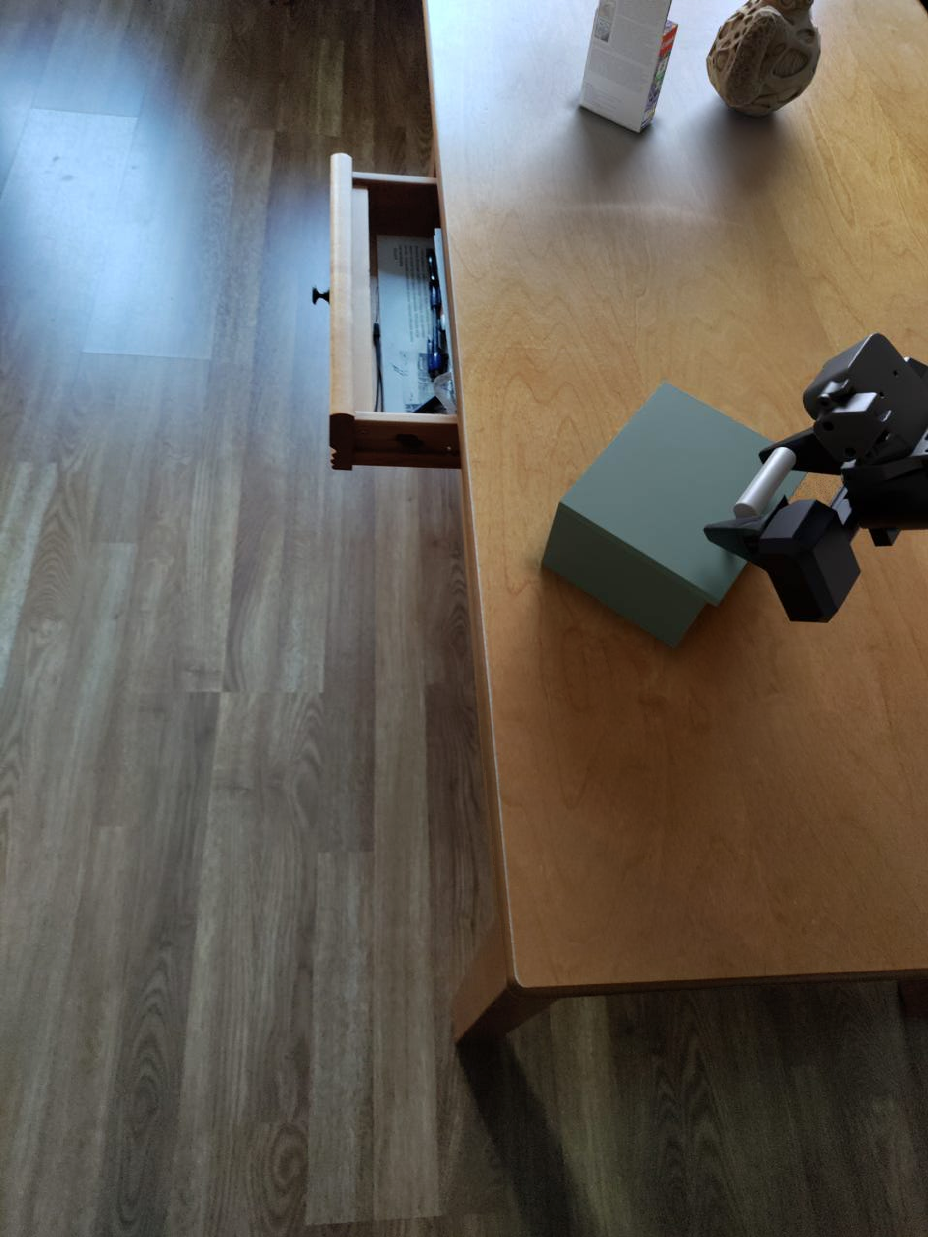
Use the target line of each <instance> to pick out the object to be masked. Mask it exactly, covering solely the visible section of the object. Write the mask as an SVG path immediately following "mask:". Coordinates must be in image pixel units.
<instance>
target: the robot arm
mask: <svg viewBox="0 0 928 1237" xmlns="http://www.w3.org/2000/svg"><path fill="white" fill-rule="evenodd" d="M802 404H803V408H804V410H805V411H806V413H807V415H808V416H809V417H810V418H811V420H813V421H814V423H813V426H810V427H808V428H806V429H803V430H801V431H799V432H797V433H794V434H793V435H791V436H789V437H786V438H784V439H782V440H780V441H778V442H775V444H773V445H771V446H769V447H766V448H764V449H762V450H761V451H760V452H759V454H758V456H759V458H760V460H761V463H762V464H763V465H764V464H765V462H766V461H767V460H768V458H769V457H770V456H771V454H772V453H773V451H774V450H775V449H777V448H780V447H784V448H788V449H790V450H791V451H792V452H793V453H794V454H795V456H796V463H795V464H794V466H793V467H792V469H791V470H792V471H801V472H808V473H809V474H810V473H812V474H821V475H829V476H840V480H841V483H842V484H841V485H840V487H839V488H838V489H837V491H836V493H835V494H834V495H833V497H832V499H831V500H830V502H829V504H828V505H827V504H825V503H824V502H823V501H820V500H819V499H816V498H809V499H808V498H807V499H797V500H796V501H793V502H791V503H789V501H788V500H787V498H786V495H785V494H784V495H782V496H781V497H780V499H779V500H778V502H777V503H776V505H775V506H774V507H773V509H772V510H771V512H770V513H769V514H767V515H760V516H754V517H747V518H740V519H733V520H726V521H721V522H717V523H712V524H708V525H706V526H705V527H704V529H703V531H704V533H705V535H706V537H707V539H708V541H710V542H711V543H713V544H715V545H717V546H719V547H721V548H723V549H725V550H727V551H729V552H731V553H733V554H735V555H737V556H738V557H740V558H742V559H744V560H746V561H748V562H747V563H750V564H752V565H754V566H756V567H757V568H758V569H759V568H760V569H761V570H763V571H764V572H766V573H767V575H768V577H769V579H770V582H771V583H772V586H773V588H774V590H775V593H776V595H777V596H778V599H779V601H780V603H781V605H782V608H783V609H784V612H785V615H786V616H787V618H788V620H789V622H798V623H817V624H818V623H819V624H829V622H830V621H831V620H832V619H833V618H834V617H835V616H836V615H837V613H838V612H839V611H840V609H841V607H842V606H843V604H844V602H845V600H846V599H847V597H848V595H849V594H850V592H851V591H852V589H853V587H854V586H855V584H856V582H857V580H858V578H859V577H860V575H861V573H862V570H861V568H860V565H859V562H858V561H857V557H856V554H855V552H854V550H853V548H852V545H851V544H852V543H853V541H854V539H855V538H856V536H857V535H858V533H859V531H860V530H861V529H862V530H868V533H869V535H870V538H871V540H872V544H873V546H874V547H876V548H877V547H893V546H894V544H895V542H896V540H897V539H898V537H899V535H900V533H901V531H903V532H905V531H928V365H927V364H924V363H923V362H921V361H919V360H917V359H915V358H913V357H911V356H905V357H903V356H902V354H901V353H900V352H899V351H898V349H897V348H896V347H895V346H894V345H893V343H892V342H891V341H890V340H889V339H888V337H886V336H885V335H884V334H882V333H879V332H872V333H871V334H870V335H868V336H866V337H865V338H863V339H861V340H859V341H857V343H854V344H852V346H849V347H847V349H845V350H843V351H841V352H840V353H838V354H837V355H834V356H833V357H831V358H830V359H827V361H825V363H824V364H823V365H822V369H821V370H820V371H819V373H818V374H817V376H816V377H815V378H814V379H813V381H812V382H811V384H809V385H808V386H807V387H806V388H805V390H804V391H803V394H802Z"/></svg>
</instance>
